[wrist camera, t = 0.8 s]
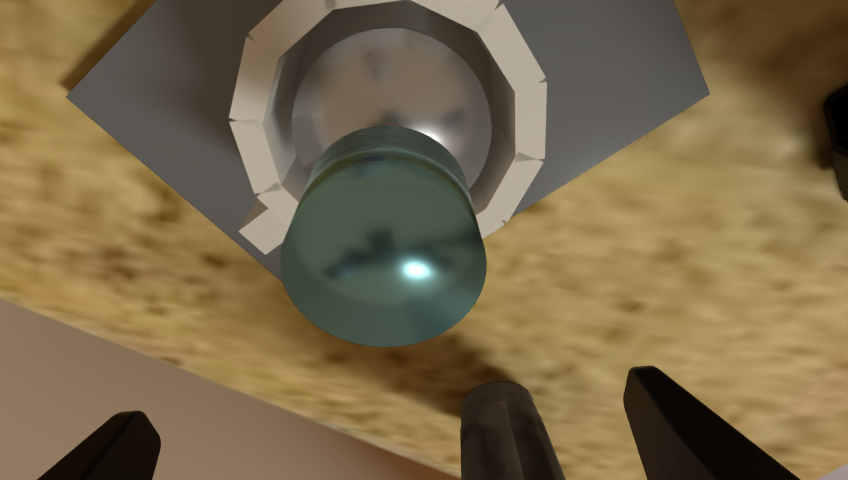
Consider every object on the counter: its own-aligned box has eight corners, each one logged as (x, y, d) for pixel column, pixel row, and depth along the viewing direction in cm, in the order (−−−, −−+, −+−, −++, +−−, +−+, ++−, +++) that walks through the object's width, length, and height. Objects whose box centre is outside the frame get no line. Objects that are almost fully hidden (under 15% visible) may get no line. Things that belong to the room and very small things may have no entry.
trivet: (516, -377, 12) (520, -389, 12) (703, 90, 19) (710, 93, 18) (73, 93, 18) (65, 96, 17) (336, 320, 25) (334, 326, 24)
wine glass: (410, -24, 12) (418, 7, 6) (523, 147, 15) (612, 295, 9) (254, 112, 14) (129, 248, 8) (380, 243, 17) (365, 425, 10)
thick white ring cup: (418, -110, 15) (424, -133, 10) (553, 117, 19) (597, 167, 14) (196, 96, 18) (131, 143, 13) (354, 252, 22) (341, 325, 18)
